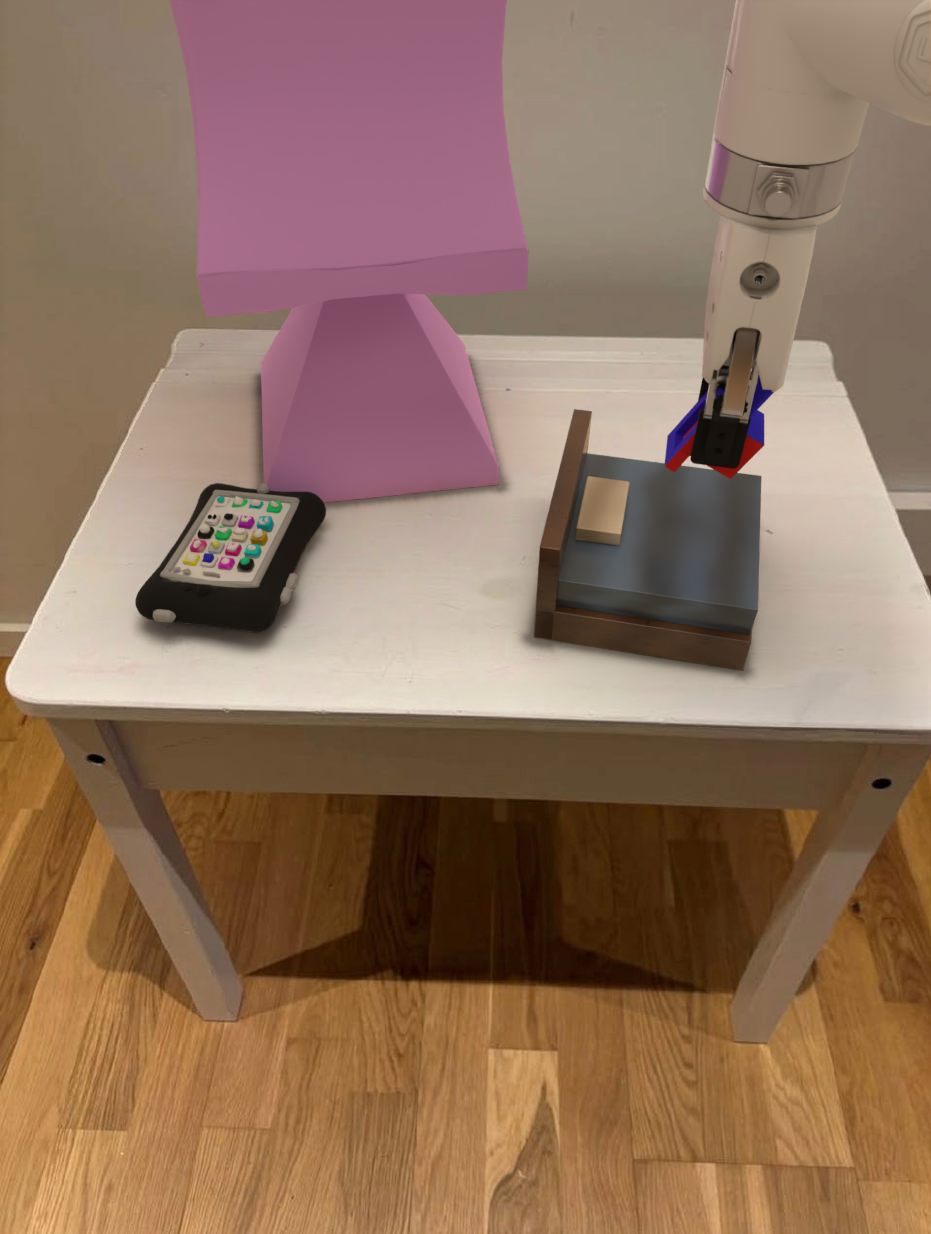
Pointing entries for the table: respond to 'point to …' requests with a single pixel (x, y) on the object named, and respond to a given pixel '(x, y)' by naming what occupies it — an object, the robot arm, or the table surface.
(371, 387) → the pink table lamp
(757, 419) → the toy building block
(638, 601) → the doll bed
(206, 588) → the phone
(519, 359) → the table surface
